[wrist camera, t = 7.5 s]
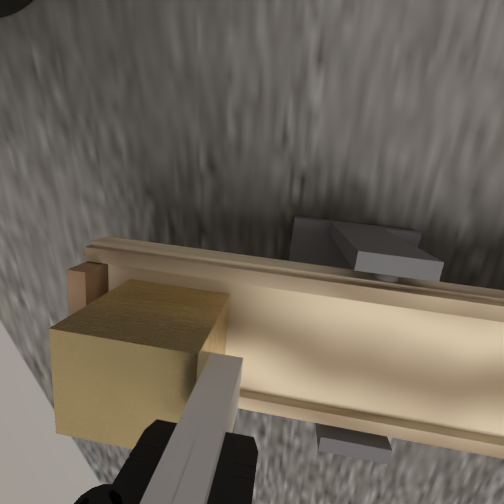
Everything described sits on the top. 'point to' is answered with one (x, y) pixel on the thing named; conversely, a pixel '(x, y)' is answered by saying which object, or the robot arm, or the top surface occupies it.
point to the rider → (133, 358)
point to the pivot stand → (366, 260)
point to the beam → (338, 340)
